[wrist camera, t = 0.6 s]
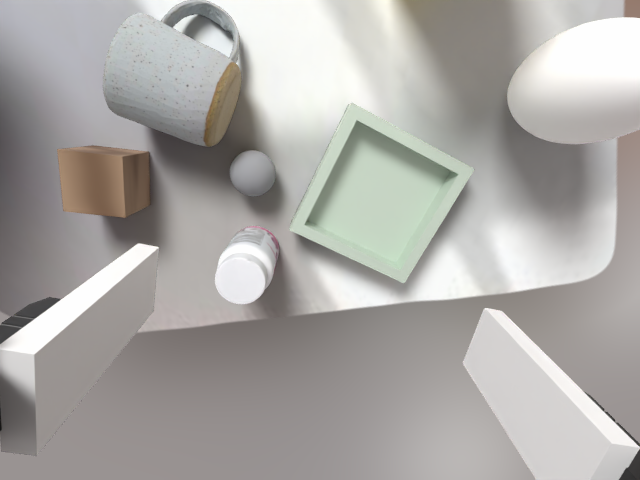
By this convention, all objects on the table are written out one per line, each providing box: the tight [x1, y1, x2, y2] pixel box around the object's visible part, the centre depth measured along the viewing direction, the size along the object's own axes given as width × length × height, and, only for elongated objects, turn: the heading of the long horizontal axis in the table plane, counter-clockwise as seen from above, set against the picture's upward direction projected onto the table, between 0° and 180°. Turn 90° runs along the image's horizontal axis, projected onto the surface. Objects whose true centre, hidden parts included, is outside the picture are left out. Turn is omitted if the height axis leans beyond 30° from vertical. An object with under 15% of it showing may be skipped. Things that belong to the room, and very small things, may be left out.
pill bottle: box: [215, 226, 279, 304], centre depth 33 cm, size 5×5×8 cm
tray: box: [289, 103, 474, 283], centre depth 34 cm, size 12×12×3 cm
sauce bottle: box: [507, 18, 640, 144], centre depth 24 cm, size 8×8×18 cm
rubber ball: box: [230, 150, 276, 196], centre depth 32 cm, size 4×4×4 cm
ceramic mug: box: [103, 0, 241, 147], centre depth 28 cm, size 11×8×8 cm
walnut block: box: [57, 146, 150, 218], centre depth 32 cm, size 5×5×5 cm
